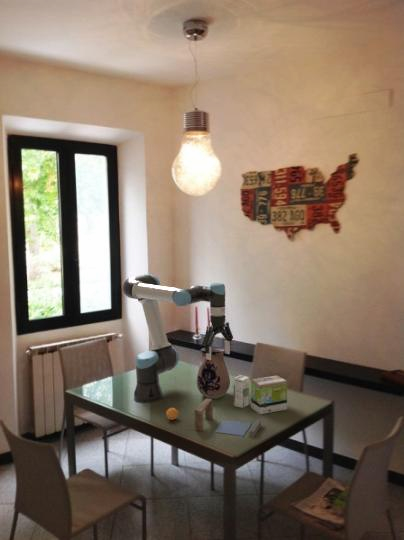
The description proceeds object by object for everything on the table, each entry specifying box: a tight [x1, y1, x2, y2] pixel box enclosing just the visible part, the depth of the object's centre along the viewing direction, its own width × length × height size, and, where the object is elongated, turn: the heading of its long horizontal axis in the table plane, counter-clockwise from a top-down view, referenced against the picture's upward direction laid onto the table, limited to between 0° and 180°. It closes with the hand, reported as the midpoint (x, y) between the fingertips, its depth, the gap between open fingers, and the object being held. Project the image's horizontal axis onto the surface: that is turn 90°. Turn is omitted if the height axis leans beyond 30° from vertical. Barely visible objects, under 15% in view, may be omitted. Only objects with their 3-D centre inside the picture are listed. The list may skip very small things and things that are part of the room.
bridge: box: [194, 398, 214, 432], centre depth 223 cm, size 3×14×9 cm, turn 159°
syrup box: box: [233, 374, 250, 409], centre depth 243 cm, size 6×6×14 cm
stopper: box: [248, 419, 262, 438], centre depth 214 cm, size 2×12×2 cm, turn 159°
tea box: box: [250, 375, 288, 415], centre depth 238 cm, size 15×10×15 cm
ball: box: [165, 407, 179, 421], centre depth 229 cm, size 6×6×6 cm
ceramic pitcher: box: [196, 345, 231, 400], centre depth 258 cm, size 18×21×25 cm
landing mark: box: [214, 419, 252, 437], centre depth 218 cm, size 13×13×1 cm
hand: (218, 356), depth 244 cm, fingers open, 13 cm apart
